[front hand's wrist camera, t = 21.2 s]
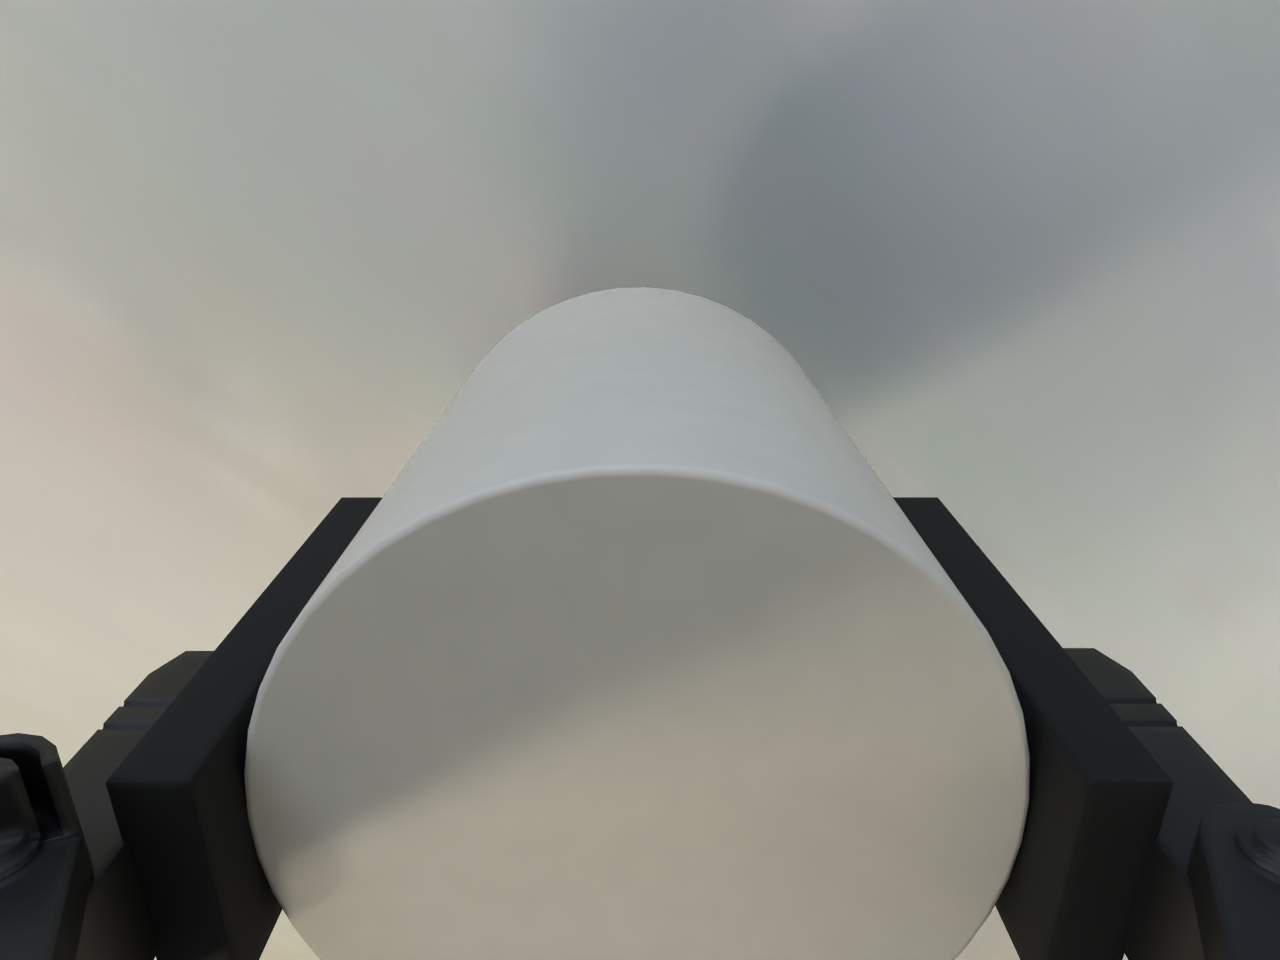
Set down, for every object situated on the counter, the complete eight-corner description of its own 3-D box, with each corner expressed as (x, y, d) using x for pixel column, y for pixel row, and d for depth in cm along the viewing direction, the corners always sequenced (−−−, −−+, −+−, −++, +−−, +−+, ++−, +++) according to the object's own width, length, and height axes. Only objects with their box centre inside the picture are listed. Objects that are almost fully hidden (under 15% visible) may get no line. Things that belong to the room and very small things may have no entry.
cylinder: (834, 634, 19) (1006, 1068, 10) (478, 662, 19) (339, 1110, 10) (831, 267, 16) (1070, 426, 7) (409, 306, 16) (134, 507, 7)
